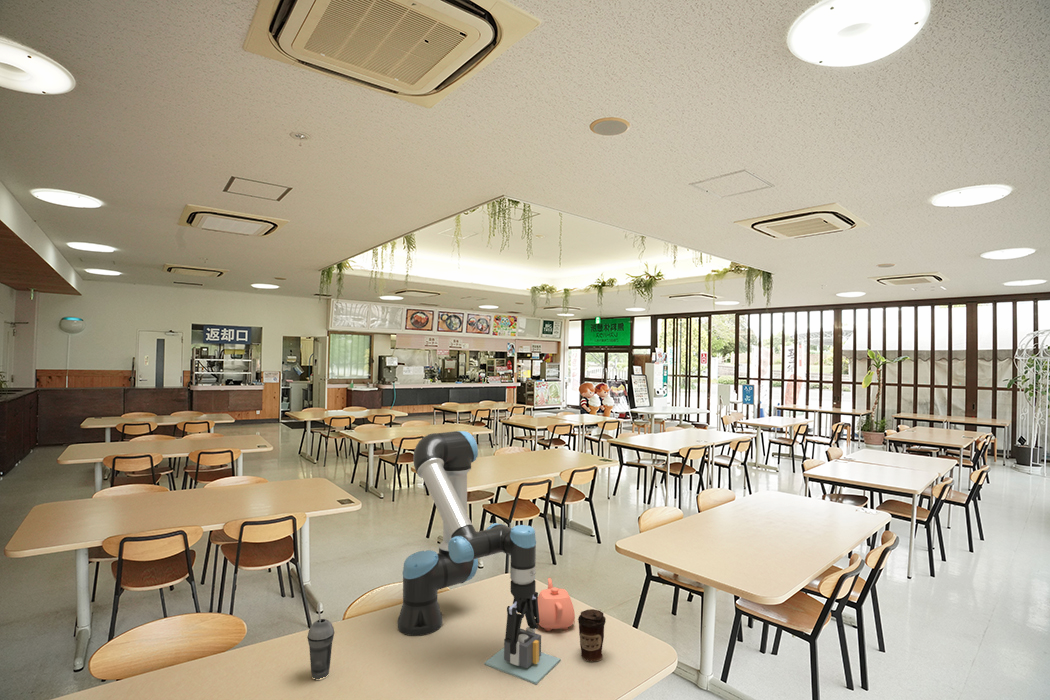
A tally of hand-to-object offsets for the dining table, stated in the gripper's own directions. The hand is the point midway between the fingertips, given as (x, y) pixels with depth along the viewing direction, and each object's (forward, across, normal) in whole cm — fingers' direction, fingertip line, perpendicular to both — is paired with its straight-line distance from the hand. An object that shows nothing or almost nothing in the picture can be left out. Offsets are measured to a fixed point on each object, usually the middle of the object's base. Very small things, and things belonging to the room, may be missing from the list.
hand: (522, 656), depth 155 cm
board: (+2, 0, 0) cm, 2 cm away
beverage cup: (+2, -37, +45) cm, 58 cm away
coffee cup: (+2, +14, -16) cm, 21 cm away
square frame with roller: (0, 0, 0) cm, 0 cm away
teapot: (+2, +26, +4) cm, 26 cm away
